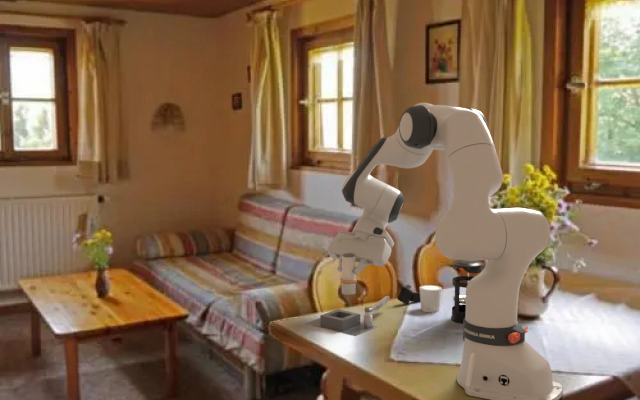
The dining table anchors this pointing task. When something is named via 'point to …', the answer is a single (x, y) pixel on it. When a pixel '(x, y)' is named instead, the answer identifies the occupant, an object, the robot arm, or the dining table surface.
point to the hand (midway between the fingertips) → (347, 272)
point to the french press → (470, 267)
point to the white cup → (430, 298)
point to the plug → (348, 274)
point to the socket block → (344, 322)
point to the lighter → (408, 295)
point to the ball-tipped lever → (376, 306)
